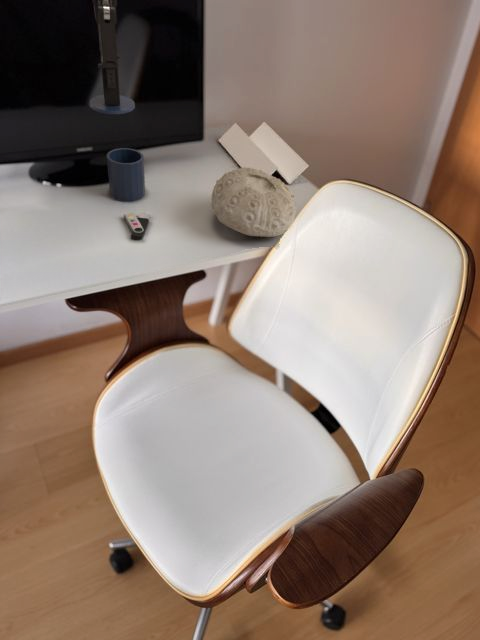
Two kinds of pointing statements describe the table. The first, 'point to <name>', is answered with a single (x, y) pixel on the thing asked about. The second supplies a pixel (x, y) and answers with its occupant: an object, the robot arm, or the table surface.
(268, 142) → the z bracket
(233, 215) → the decorative shell
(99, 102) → the lid
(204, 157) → the table surface
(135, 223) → the usb flash drive
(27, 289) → the table surface
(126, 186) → the tin
